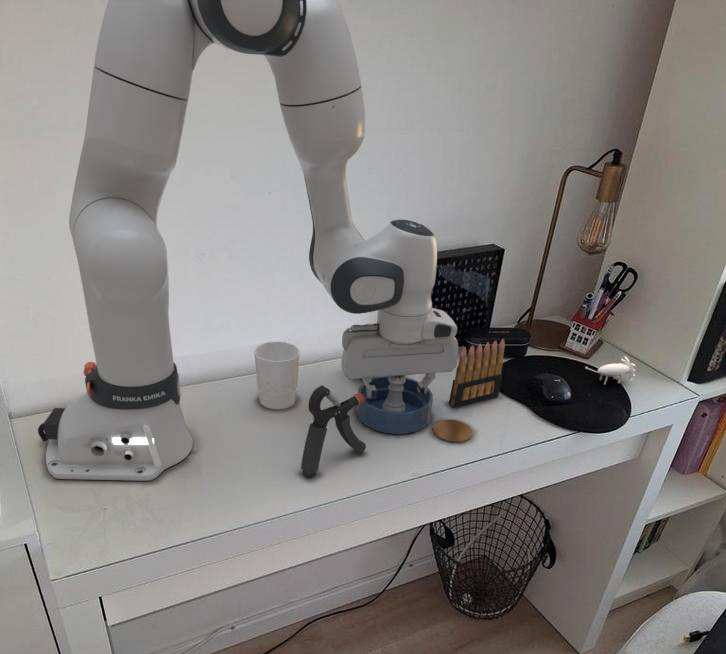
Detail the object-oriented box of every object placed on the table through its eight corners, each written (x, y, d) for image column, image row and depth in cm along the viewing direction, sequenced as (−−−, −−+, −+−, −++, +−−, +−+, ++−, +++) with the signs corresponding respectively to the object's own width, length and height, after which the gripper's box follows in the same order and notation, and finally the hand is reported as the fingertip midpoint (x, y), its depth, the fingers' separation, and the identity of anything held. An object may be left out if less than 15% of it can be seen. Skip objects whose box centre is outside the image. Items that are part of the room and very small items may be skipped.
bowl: (366, 438, 118) (368, 415, 116) (349, 399, 129) (350, 377, 126) (439, 432, 121) (443, 410, 119) (416, 394, 132) (419, 373, 129)
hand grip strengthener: (367, 453, 115) (374, 373, 106) (308, 480, 108) (310, 397, 99) (358, 447, 116) (364, 368, 107) (299, 473, 109) (300, 391, 100)
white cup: (248, 404, 125) (245, 355, 119) (268, 386, 130) (267, 337, 124) (286, 415, 122) (286, 365, 116) (306, 396, 128) (306, 347, 122)
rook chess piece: (403, 421, 123) (407, 382, 118) (378, 417, 123) (382, 378, 118) (407, 409, 126) (411, 370, 121) (383, 405, 127) (387, 367, 122)
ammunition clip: (492, 392, 134) (504, 336, 127) (498, 397, 133) (510, 340, 126) (448, 403, 130) (457, 345, 122) (453, 408, 128) (463, 350, 121)
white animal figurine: (623, 374, 144) (630, 353, 141) (638, 386, 140) (645, 365, 137) (573, 378, 141) (579, 357, 138) (586, 390, 137) (593, 369, 134)
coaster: (440, 444, 118) (440, 442, 118) (427, 423, 124) (427, 421, 123) (477, 441, 120) (478, 439, 120) (463, 420, 125) (464, 418, 125)
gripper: (347, 333, 109) (343, 408, 118) (466, 327, 114) (455, 399, 122) (338, 317, 114) (336, 390, 123) (453, 311, 119) (443, 382, 127)
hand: (396, 394), depth 123 cm, fingers open, 8 cm apart
